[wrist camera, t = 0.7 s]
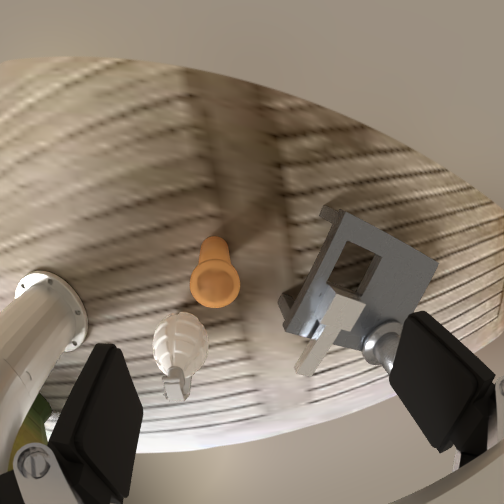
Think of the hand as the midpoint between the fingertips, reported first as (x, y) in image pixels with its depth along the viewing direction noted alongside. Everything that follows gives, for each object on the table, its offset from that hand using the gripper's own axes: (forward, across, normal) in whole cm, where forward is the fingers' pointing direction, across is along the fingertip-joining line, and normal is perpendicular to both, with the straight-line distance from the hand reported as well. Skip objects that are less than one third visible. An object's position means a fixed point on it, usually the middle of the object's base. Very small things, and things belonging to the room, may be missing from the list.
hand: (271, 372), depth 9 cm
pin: (+25, +2, +4) cm, 26 cm away
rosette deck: (+25, -14, +11) cm, 31 cm away
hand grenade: (+26, +7, +14) cm, 30 cm away
